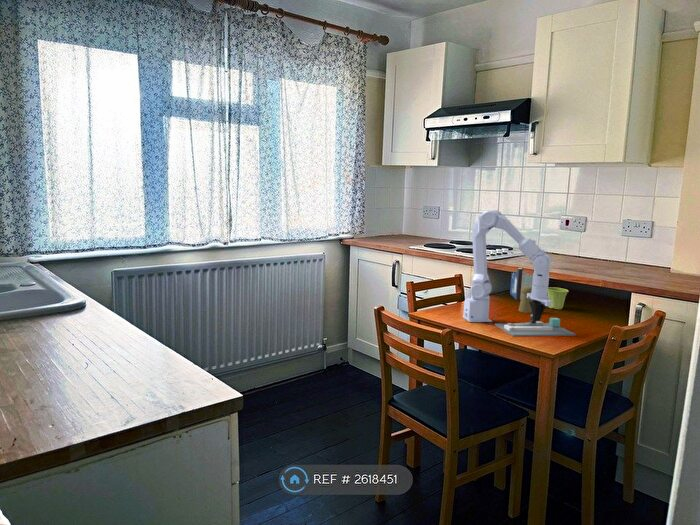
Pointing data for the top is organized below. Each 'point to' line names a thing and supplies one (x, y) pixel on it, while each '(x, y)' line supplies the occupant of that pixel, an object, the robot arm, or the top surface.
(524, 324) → the black knobbed slide plate
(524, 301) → the olive tapered shaker
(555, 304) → the plant pot
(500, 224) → the robot arm
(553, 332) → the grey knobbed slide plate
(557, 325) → the teal block
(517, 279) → the protein box
